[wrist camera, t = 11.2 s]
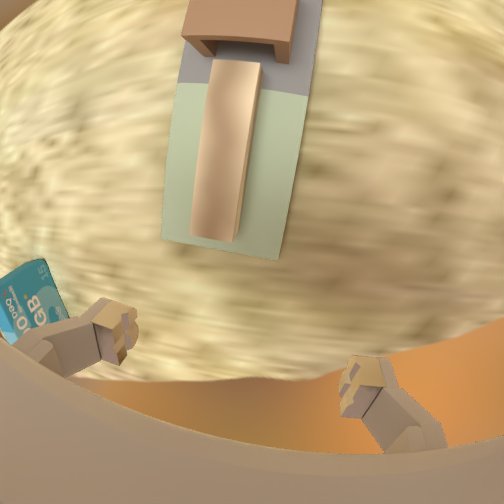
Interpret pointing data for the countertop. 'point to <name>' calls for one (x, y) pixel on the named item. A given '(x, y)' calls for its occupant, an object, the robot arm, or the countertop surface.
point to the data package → (28, 300)
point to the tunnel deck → (268, 116)
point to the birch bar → (225, 148)
